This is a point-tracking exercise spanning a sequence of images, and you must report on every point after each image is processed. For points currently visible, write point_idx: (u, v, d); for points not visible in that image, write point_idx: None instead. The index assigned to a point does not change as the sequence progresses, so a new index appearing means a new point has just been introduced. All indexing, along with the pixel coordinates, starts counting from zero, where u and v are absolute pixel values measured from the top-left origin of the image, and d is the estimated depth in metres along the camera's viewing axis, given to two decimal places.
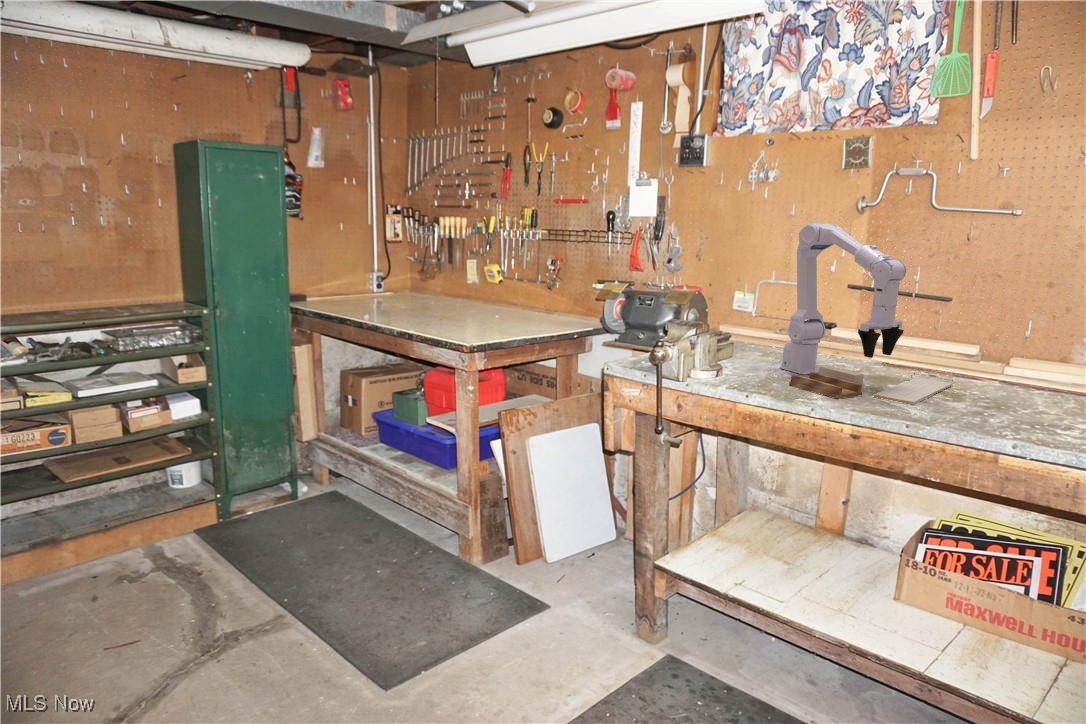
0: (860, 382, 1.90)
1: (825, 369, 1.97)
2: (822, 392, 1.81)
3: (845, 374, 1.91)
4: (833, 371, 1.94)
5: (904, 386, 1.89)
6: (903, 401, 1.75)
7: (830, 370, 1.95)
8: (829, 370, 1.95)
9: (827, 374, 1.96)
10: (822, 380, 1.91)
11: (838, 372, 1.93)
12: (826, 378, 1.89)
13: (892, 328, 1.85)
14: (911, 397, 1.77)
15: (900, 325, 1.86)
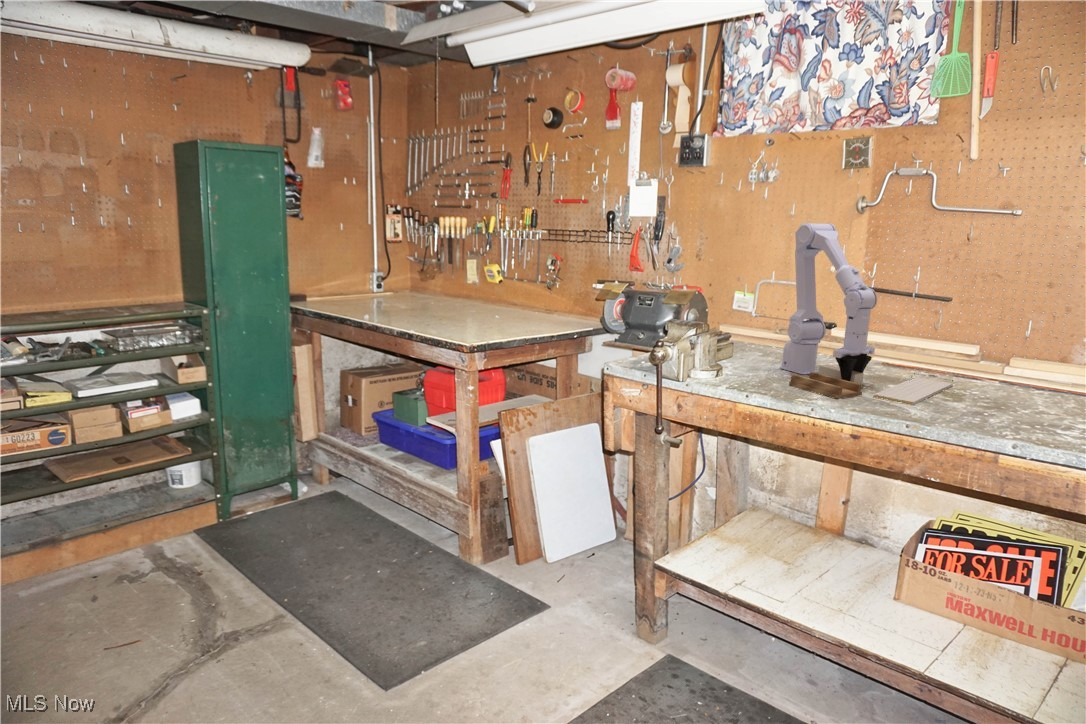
0: (860, 381, 1.90)
1: (825, 368, 1.97)
2: (822, 392, 1.81)
3: None
4: (833, 370, 1.94)
5: (904, 386, 1.89)
6: (903, 401, 1.75)
7: (830, 369, 1.95)
8: (829, 369, 1.95)
9: (827, 373, 1.96)
10: (822, 380, 1.91)
11: (838, 371, 1.93)
12: (826, 378, 1.89)
13: None
14: (911, 397, 1.77)
15: (872, 351, 1.92)
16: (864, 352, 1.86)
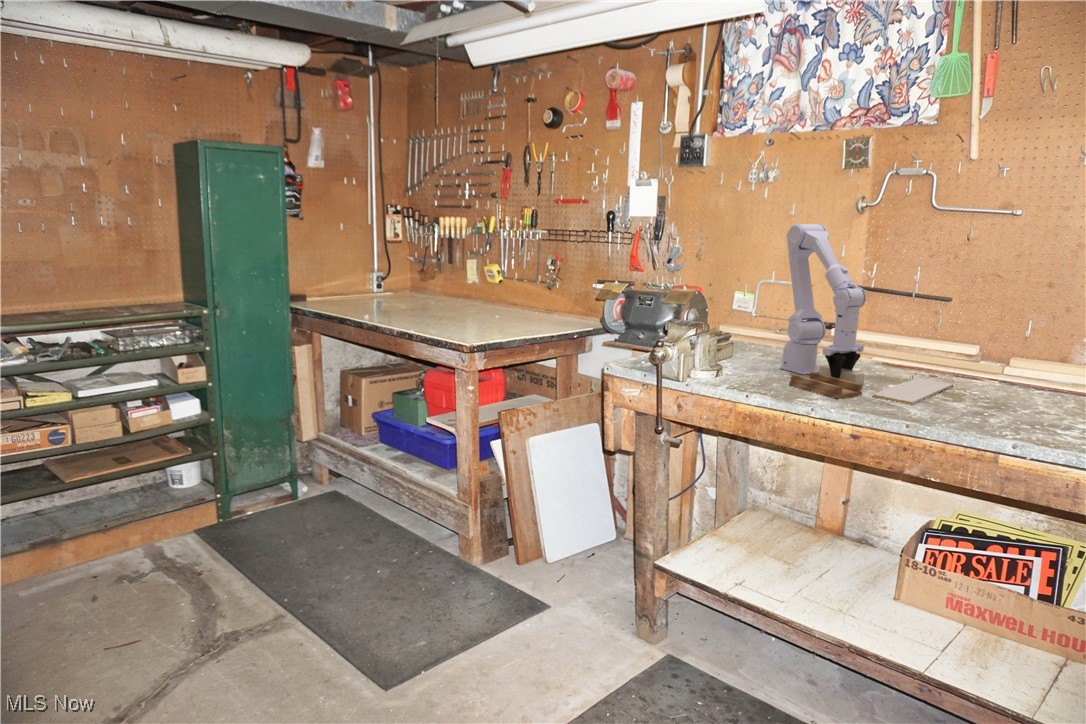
0: (861, 381, 1.90)
1: (826, 368, 1.96)
2: (822, 392, 1.81)
3: (846, 373, 1.91)
4: None
5: (904, 386, 1.89)
6: (902, 401, 1.75)
7: None
8: None
9: (828, 373, 1.96)
10: (822, 380, 1.91)
11: None
12: (826, 378, 1.89)
13: None
14: (910, 397, 1.77)
15: (861, 349, 1.95)
16: (853, 350, 1.89)
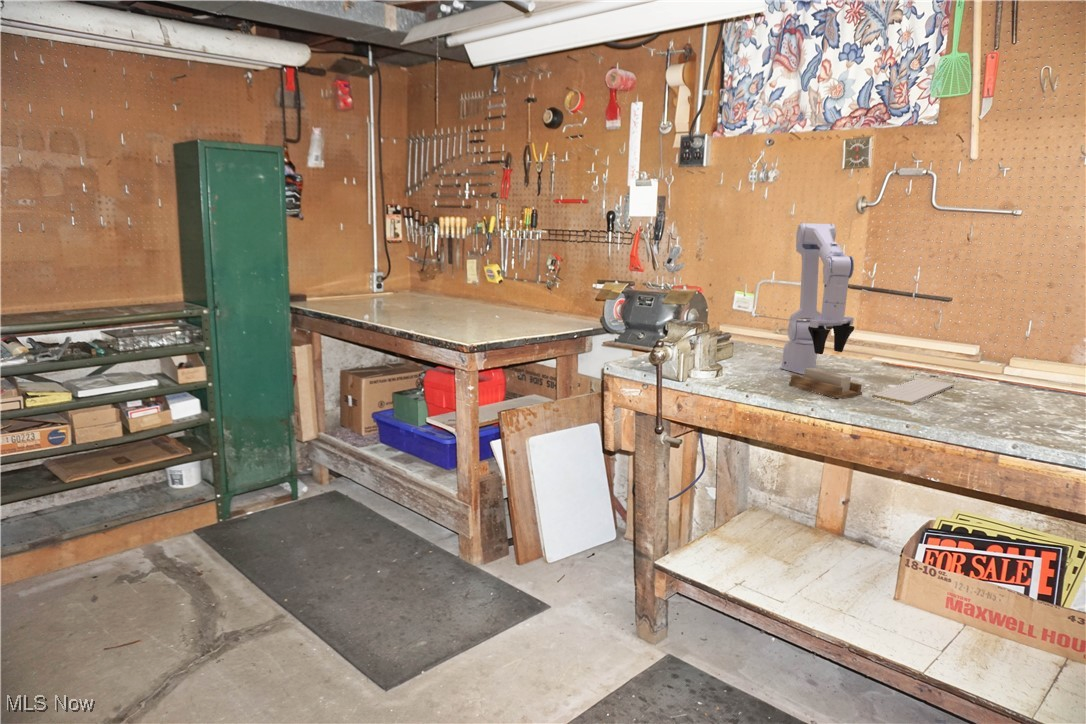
0: (847, 385, 1.81)
1: (811, 371, 1.87)
2: (822, 392, 1.81)
3: (831, 377, 1.82)
4: (819, 373, 1.85)
5: (904, 386, 1.89)
6: (901, 401, 1.75)
7: (816, 372, 1.86)
8: (815, 372, 1.86)
9: (813, 376, 1.87)
10: None
11: (824, 374, 1.84)
12: None
13: (843, 325, 1.84)
14: (909, 397, 1.77)
15: (851, 322, 1.85)
16: (842, 322, 1.79)
